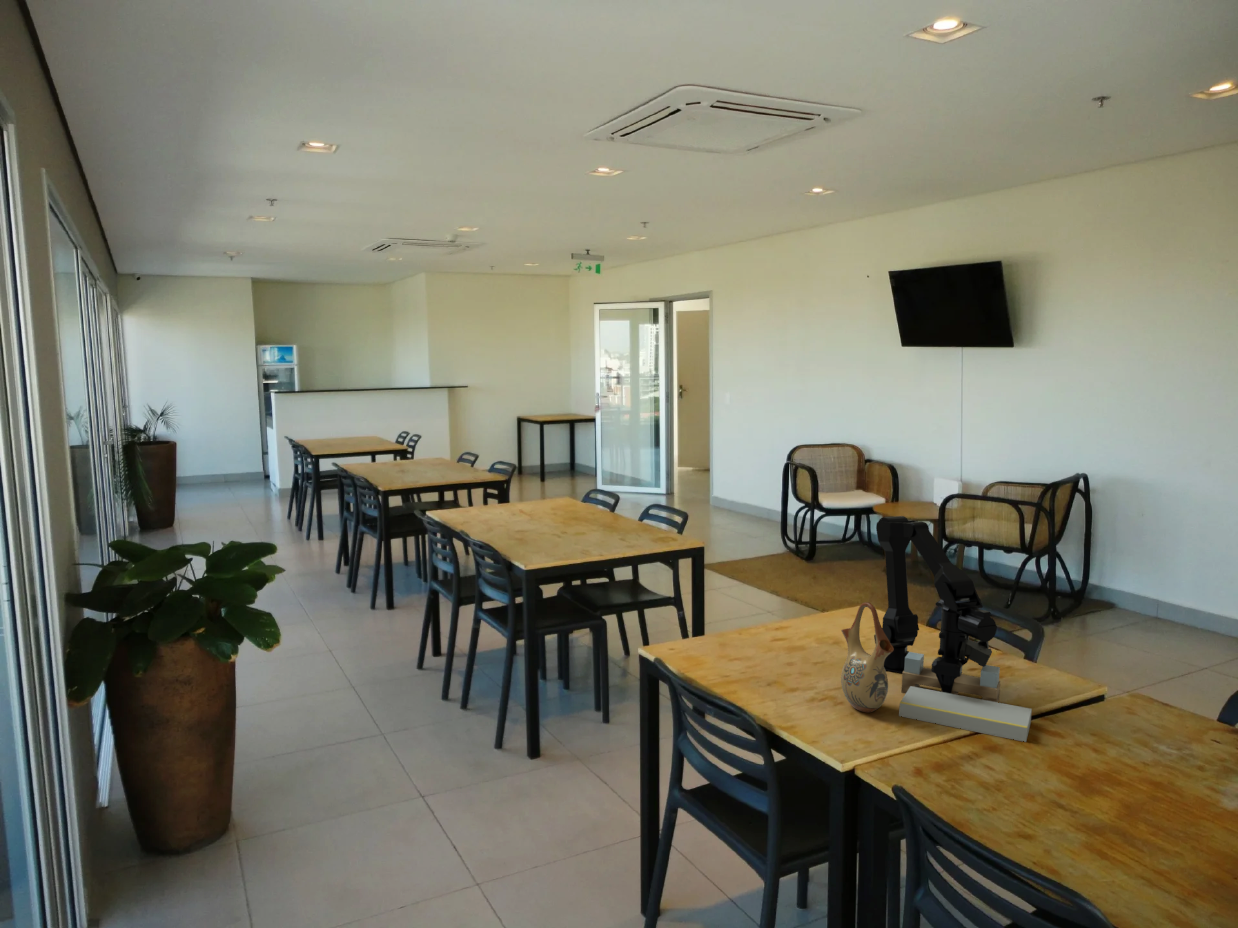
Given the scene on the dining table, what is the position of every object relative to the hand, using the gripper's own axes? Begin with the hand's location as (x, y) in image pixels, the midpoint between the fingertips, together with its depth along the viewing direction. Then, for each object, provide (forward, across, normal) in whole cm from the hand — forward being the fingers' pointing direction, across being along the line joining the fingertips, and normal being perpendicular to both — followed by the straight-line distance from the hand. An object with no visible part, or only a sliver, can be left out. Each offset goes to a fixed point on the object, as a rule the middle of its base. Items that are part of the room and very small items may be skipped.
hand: (949, 692), depth 207 cm
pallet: (+1, 0, 0) cm, 1 cm away
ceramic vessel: (+1, -18, +16) cm, 24 cm away
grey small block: (-4, 0, +8) cm, 9 cm away
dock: (+1, -12, -5) cm, 13 cm away
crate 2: (-4, 0, -8) cm, 9 cm away
